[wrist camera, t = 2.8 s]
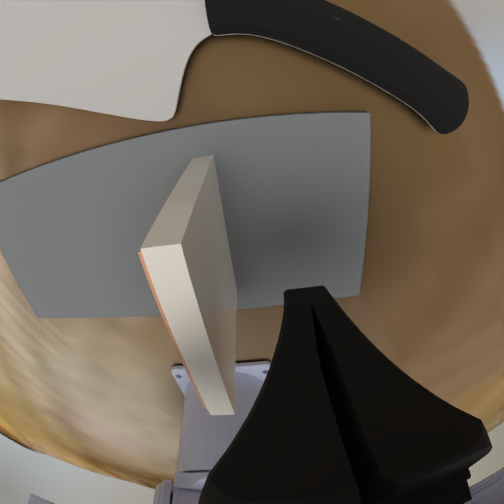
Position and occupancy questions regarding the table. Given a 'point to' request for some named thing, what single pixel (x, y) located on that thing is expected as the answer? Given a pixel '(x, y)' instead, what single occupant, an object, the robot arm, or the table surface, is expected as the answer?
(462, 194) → the table surface
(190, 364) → the tile
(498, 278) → the table surface
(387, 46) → the kitchen cleaver
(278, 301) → the mat
